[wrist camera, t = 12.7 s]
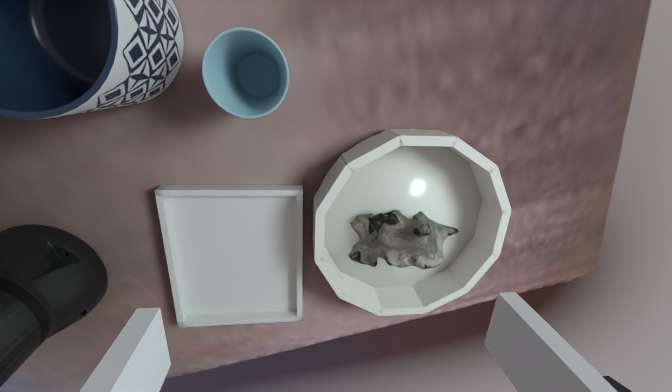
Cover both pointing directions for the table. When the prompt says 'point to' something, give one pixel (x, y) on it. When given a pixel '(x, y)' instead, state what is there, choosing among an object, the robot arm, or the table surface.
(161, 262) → the table surface
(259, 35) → the cup
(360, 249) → the decorative stone
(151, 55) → the planter
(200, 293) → the tray
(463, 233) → the bowl
